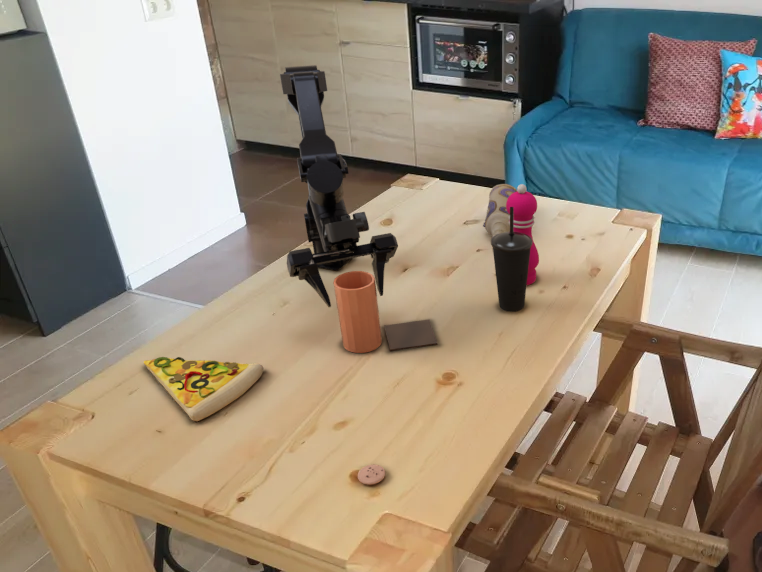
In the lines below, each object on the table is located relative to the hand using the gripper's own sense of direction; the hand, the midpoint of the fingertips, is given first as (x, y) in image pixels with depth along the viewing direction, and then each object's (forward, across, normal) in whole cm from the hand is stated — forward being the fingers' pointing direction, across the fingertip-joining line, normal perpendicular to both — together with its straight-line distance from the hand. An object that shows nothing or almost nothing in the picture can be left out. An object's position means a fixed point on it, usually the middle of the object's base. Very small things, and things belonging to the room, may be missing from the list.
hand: (356, 300), depth 129 cm
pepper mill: (-1, +36, +12) cm, 38 cm away
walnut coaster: (+7, +8, +4) cm, 12 cm away
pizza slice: (+6, -29, +6) cm, 30 cm away
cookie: (+31, -8, -19) cm, 37 cm away
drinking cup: (+6, +30, +6) cm, 31 cm away
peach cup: (+6, 0, +6) cm, 8 cm away
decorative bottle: (-18, +42, +29) cm, 54 cm away
